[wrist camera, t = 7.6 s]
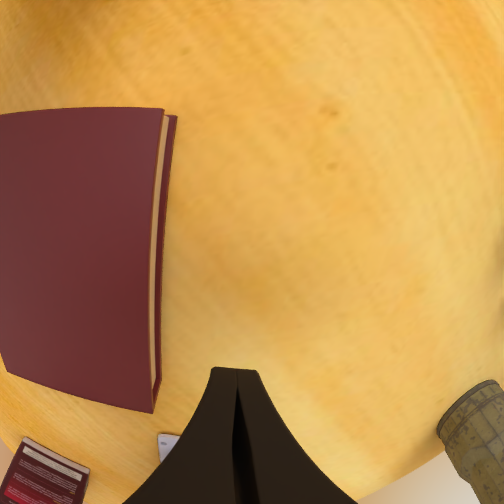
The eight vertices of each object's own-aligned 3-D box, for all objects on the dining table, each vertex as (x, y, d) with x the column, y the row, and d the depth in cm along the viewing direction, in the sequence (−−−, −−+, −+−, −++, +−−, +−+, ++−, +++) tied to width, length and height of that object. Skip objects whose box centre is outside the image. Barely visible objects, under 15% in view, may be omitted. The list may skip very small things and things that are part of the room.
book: (161, 379, 19) (152, 414, 16) (26, 346, 17) (6, 371, 14) (177, 116, 13) (162, 108, 10) (8, 119, 12) (-26, 119, 9)
